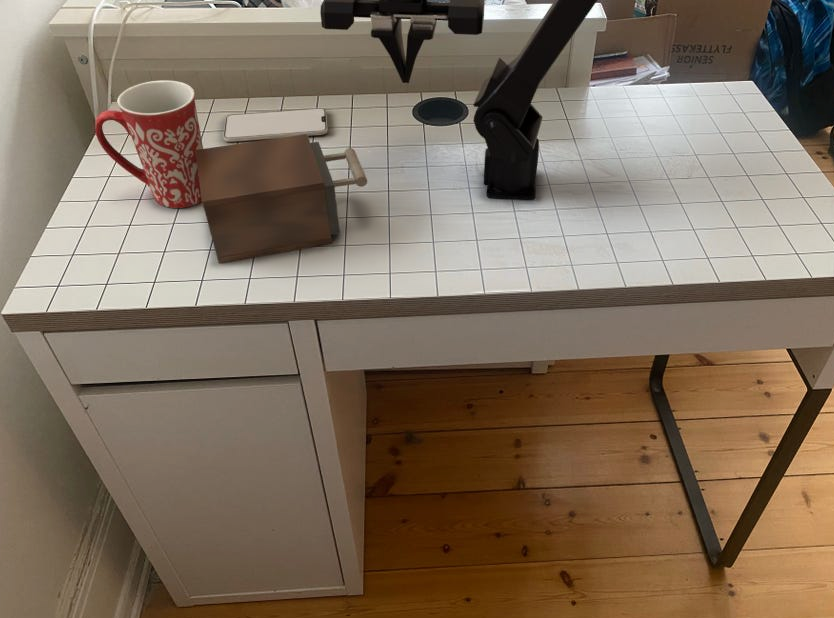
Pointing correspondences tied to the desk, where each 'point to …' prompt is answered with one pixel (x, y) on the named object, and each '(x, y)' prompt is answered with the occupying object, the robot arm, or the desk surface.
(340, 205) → the desk surface
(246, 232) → the cabinet
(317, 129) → the smartphone
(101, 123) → the mug
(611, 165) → the desk surface
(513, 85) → the robot arm
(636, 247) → the desk surface
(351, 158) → the drawer
